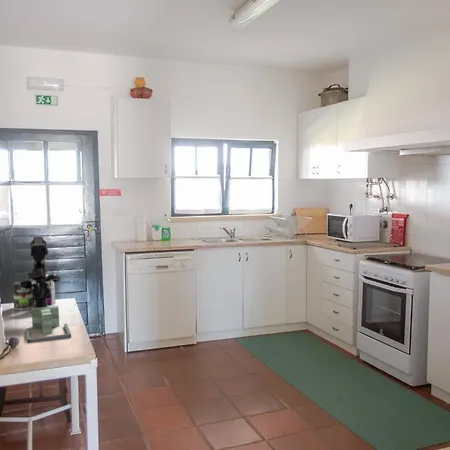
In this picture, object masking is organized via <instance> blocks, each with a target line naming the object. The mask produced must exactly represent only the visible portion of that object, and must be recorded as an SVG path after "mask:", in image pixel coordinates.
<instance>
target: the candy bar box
mask: <svg viewBox="0 0 450 450" xmlns="http://www.w3.org/2000/svg"><path fill="white" fill-rule="evenodd" d="M48 275H49V274H46V278H47V276H48ZM31 281H34V280H32V279H31ZM55 283H56V282H53V280H52V281H49V285H48V286H47V287H49V289H50V298H47V305H53V304H55V303H56V286H55V285H56V284H55ZM33 289H34V287H33ZM47 296H48V295H47ZM34 297H35V296H34ZM33 305H36V301H35V300H33Z"/></svg>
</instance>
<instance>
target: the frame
mask: <svg viewBox="0 0 450 450" xmlns="http://www.w3.org/2000/svg"><path fill="white" fill-rule="evenodd" d="M68 326H69V325H68V323H63V328H64V330H65V332H66V333H65V334H57V335H49V336H42V337H35V338H31V336H30V328H29V327H28V328H25V336H26V343H27V344H32V343H41V342H48V341H56V340H62V339H63V340H64V339H69V338H72V333H71V331H70V328H69V327H68Z"/></svg>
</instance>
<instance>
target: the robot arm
mask: <svg viewBox="0 0 450 450" xmlns="http://www.w3.org/2000/svg"><path fill="white" fill-rule="evenodd" d="M29 244H30V245H29V246H30V257H32V263H33V264H32V269H31V271H30V272H27V276H28V279H25V280H20V281H21V282H20V287H23V288H25V289H27V288H32V286H33V287H34V289H32V294H33V300H35V301H36V304H35V308H42V307H48V304H47V298H50V289H49V287H47V286H48V285H49V281H52V280H53V282H55V283H57V282H58V283H59V282H61V277H60V275H57V274H56V273H52V274H47V272H48V271H47V269H46V256H47V255H49V249H48V247H47V241H46V240H44V237H43V236H34V237H33V239H32V240H31V241H30V243H29ZM46 275H48V276H47V278H46ZM32 280H34V281H32ZM47 295H48V296H47ZM34 296H35V297H34Z"/></svg>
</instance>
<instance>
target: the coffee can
mask: <svg viewBox="0 0 450 450" xmlns="http://www.w3.org/2000/svg"><path fill="white" fill-rule="evenodd" d="M21 281H22V280H19V281H18V280H17V281H15V282H12V289H13V290H12V291H13V295H12V296H13V309H14V310H17V311H24V310H30V309H32V308H35V307H34V306H35V304H33V294H32V289H33V286H32V288H27V289H25V288H23V287H20V282H21Z"/></svg>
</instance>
